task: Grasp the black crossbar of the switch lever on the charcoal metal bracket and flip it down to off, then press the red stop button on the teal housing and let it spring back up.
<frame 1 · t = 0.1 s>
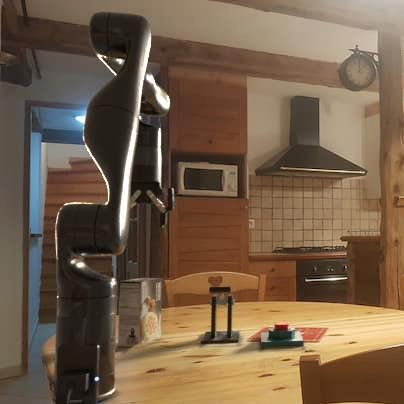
hand: (144, 227, 134), 29 cm above the table, tool pointing down, fingers open, 8 cm apart
button housing: (281, 345, 130), on the table
lever: (221, 296, 130), point 12 cm above the table, hinge at 25.0°
coffee box: (139, 344, 131), on the table
stop button: (281, 326, 130), point 5 cm above the table, slide at 0.1 cm
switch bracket: (221, 341, 134), on the table
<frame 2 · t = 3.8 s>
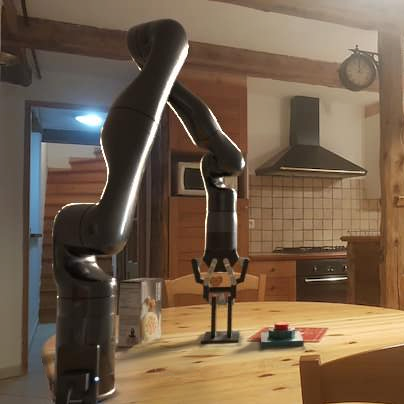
hand: (220, 300, 126), 12 cm above the table, tool pointing down, fingers closed on lever, 5 cm apart
lever: (221, 296, 130), point 12 cm above the table, hinge at 25.0°, touching gripper
everything else where it was.
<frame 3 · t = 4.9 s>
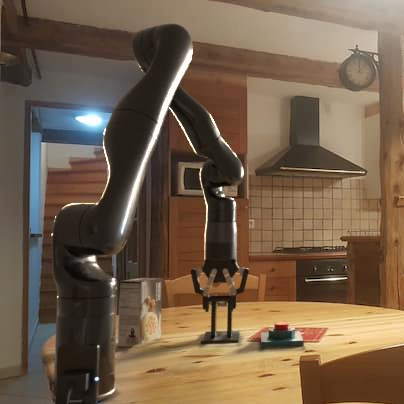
hand: (219, 310, 125), 9 cm above the table, tool pointing down, fingers closed on lever, 5 cm apart
lever: (221, 300, 130), point 11 cm above the table, hinge at 12.6°, touching gripper
everything else where it was.
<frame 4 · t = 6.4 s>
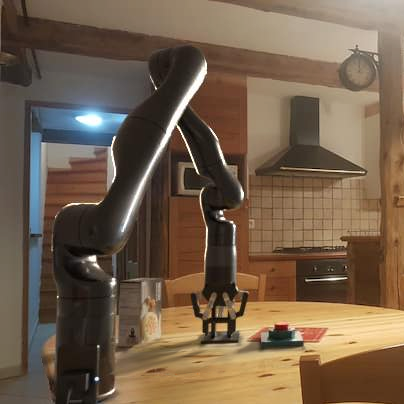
hand: (219, 334, 125), 4 cm above the table, tool pointing down, fingers closed on lever, 5 cm apart
lever: (220, 310, 130), point 9 cm above the table, hinge at -17.6°, touching gripper
everything else where it was.
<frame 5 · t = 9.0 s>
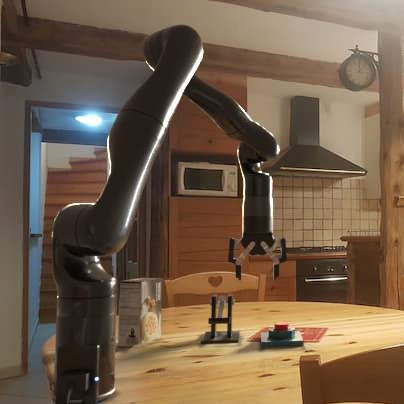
hand: (257, 279, 129), 16 cm above the table, tool pointing down, fingers open, 8 cm apart
lever: (220, 310, 130), point 9 cm above the table, hinge at -18.2°
everything else where it was.
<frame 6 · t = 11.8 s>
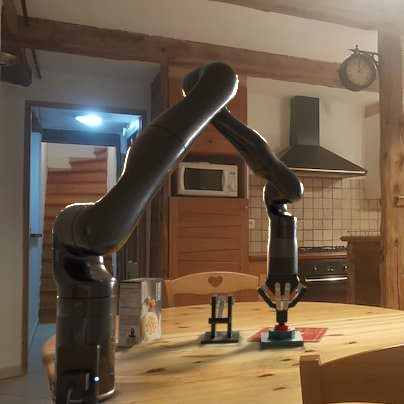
hand: (281, 324, 130), 5 cm above the table, tool pointing down, fingers closed
stop button: (281, 328, 130), point 4 cm above the table, slide at -0.2 cm, touching gripper
everything else where it was.
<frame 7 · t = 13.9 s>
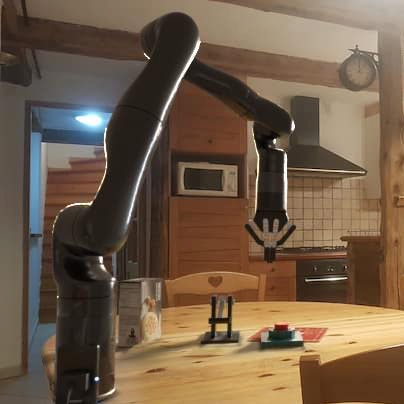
hand: (269, 263, 126), 21 cm above the table, tool pointing down, fingers closed
stop button: (281, 326, 130), point 5 cm above the table, slide at 0.1 cm
everything else where it was.
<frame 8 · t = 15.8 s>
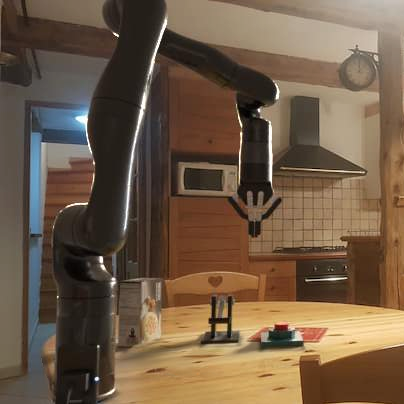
hand: (254, 237, 120), 27 cm above the table, tool pointing down, fingers closed
nothing on the table moved.
at the end: lever at -18° (first picture: +25°); stop button pushed in 1.1 cm at the most during the clip and back out by the end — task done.
